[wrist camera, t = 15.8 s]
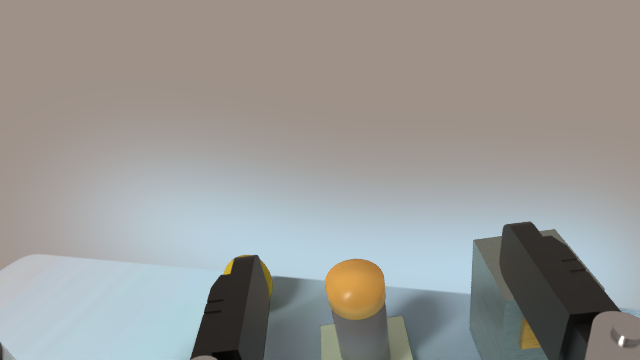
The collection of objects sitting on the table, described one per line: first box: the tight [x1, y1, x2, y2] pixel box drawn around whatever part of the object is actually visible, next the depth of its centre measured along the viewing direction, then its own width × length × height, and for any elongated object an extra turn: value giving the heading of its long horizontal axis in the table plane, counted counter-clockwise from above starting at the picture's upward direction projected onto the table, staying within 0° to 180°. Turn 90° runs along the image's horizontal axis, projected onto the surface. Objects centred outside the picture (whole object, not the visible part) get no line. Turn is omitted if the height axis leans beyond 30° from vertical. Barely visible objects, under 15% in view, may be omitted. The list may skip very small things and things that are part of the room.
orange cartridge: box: [325, 259, 391, 360], centre depth 37 cm, size 5×5×11 cm
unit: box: [469, 229, 605, 360], centre depth 35 cm, size 7×8×13 cm
